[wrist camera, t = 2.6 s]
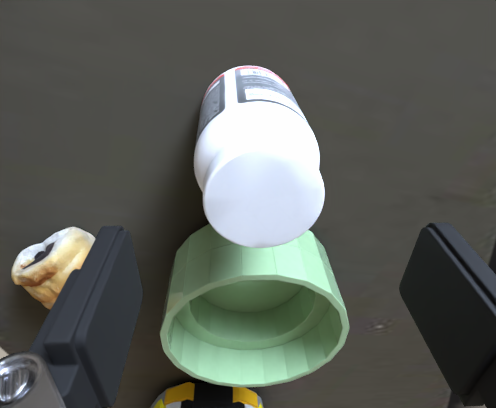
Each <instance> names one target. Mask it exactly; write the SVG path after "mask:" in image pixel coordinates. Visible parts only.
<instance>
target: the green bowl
mask: <svg viewBox="0 0 496 408" xmlns="http://www.w3.org/2000/svg"><path fill="white" fill-rule="evenodd" d="M348 331H349V322H348V317H347V313H346V309H345V306H344V303H343V300H342V297H341V294H340V291H339V289H338V286H337V283H336V280H335V277H334V274H333V271H332V269H331V266H330V263H329V260H328V257H327V254H326V251H325V249H324V247H323V246H322V245H321V243H320V242H319V241H318V239H317V238H316V237H315V236H314V234H313V233H312V232H310V231H309V230H307V231H306V232H305V233H303V234H302V235H301V236H299V237H298V238H296V239H294V240H292V241H290V242H288V243H285V244H282V245H279V246H274V247H268V248H251V247H245V246H242V245H238V244H235V243H233V242H231V241H229V240H227V239H225V238H224V237H222V236H221V235H220V234H219V233H217V232H216V231H215V229H214V228H213V227H212V226H211V224H210V223H209V224H208V225H206V226H204V227H203V228H201V229H199V230H198V231H196V232H194V233H193V234H191V235H190V236H189V237H188V239H187V240H186V241H185V242H184V243H183V245H182V246H181V247H180V248H179V249H178V250H177V252H176V255H175V258H174V262H173V265H172V268H171V273H170V279H169V284H168V290H167V295H166V301H165V307H164V312H163V318H162V323H161V329H160V338H161V342H162V347H163V351H164V353H165V354H166V355H167V356H168V358H169V359H170V360H171V361H172V363H173V364H174V365H175V366H176V367H177V368H179V369H181V370H182V371H184V372H186V373H187V374H189V375H190V376H192V377H194V378H197V379H200V380H203V381H206V382H209V383H212V384H216V385H224V386H232V387H263V386H270V385H275V384H279V383H284V382H289V381H292V380H295V379H297V378H300V377H302V376H305V375H307V374H310V373H312V372H314V371H315V370H317V369H318V368H320V367H321V366H323V365H324V364H326V363H327V362H329V361H330V360H331V359H332V358H333V357H334V356H335V355H336V354H337V352H338V351H339V350H340V349H341V348H342V347H343V345H344V343H345V340H346V337H347V334H348Z"/></svg>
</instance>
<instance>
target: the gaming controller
mask: <svg viewBox="0 0 496 408" xmlns="http://www.w3.org/2000/svg"><path fill="white" fill-rule="evenodd" d="M150 408H264V407H263V403H262V400H261V398H260V397H259V396H258V395H257V393H256V392H254V391H252V390H250V389H247V388H245V387H232V386H224V385H216V384H203V383H194V384H193V383H191V382H188V383H184V384H180V385H177V386H173V387H170V388H167V389H166V390H165V391H164V392H163V393H161V394H160V395H159V396H158V397H157V399H156V400H155V401H154V403H153V404H152V405H151V407H150Z"/></svg>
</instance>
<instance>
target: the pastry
mask: <svg viewBox="0 0 496 408" xmlns="http://www.w3.org/2000/svg"><path fill="white" fill-rule="evenodd" d="M94 241H95V237H94V236H92V235H91V234H90V233H88V232H85V231H84V230H82V229H79V228H76V227H70V228H67V229H64V230H61V231H59V232H56V233H54V234H53V235H52V236H51V237H49V238H47V239H46V240H45V241H44V242H43V243H40V244H35V245H32V246H30V247H28V248H26V249H24V250H23V251H21V253H20V254H19V255H18V256H17V258H16V260H15V262H14V265H13V267H12V275H11V277H12V280H13V281H14V283H15V284H16V285H22V286H23V287H24V288H25V289H26V290H27V291H28V292H29V293H30V294H31V296H33V297H34V298H35V299H36V300H38V301H40V302H41V303H42V304H43V305H44V306H45V307H46V308H48V309H50V310H51V308H52V306H53V304H54V303H55V301H56V299H57V297H58V295H59V293H60V291H61V289H62V288H63V286H64V284H65V282H66V280H67V278H68V276H69V275H70V273H71V272H72V271H73V270H74V269H80V268H81V266H82V264H83V262H84V260H85V258H86V256H87V255H88V253H89V251H90V249H91V247H92V245H93V243H94Z"/></svg>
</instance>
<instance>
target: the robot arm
mask: <svg viewBox="0 0 496 408" xmlns="http://www.w3.org/2000/svg"><path fill="white" fill-rule="evenodd" d="M399 290H400V294H401V297H402V299H403V301H404V302H405V304H406V306H407V308H408V310H409V312H410V314H411V316H412V317H413V319H414V321H415V323H416V325H417V327H418V329H419V331H420V332H421V334H422V336H423V338H424V340H425V342H426V344H427V346H428V347H429V349H430V351H431V353H432V355H433V357H434V359H435V361H436V363H437V364H438V366H439V368H440V370H441V372H442V374H443V376H444V378H445V379H446V381H447V383H448V385H449V387H450V389H451V390H452V391H453V392H454V393H455V394H456V395H458V396H459V397H460V399H461V401H462V402H463V405H464V406H482V405H484V404H485V406H486V407H487V408H496V275H495V274H494V272H493V271H492V270H491V269H490V268H489V267H488V266H487V264H486V263H485V262H484V261H483V260H482V259H481V258H480V257H479V255H478V254H477V253H476V252H475V251H474V250H473V249H472V248H471V246H470V245H469V244H468V243H467V242H466V241H465V240H464V238H463V237H462V236H461V235H460V234H459V233H458V232H457V231H456V229H455V228H454V227H453V226H452V225H451V224H449V223H429V224H428V225H427V226H426V228H423V229H422V230H421V232H420V234H419V237H418V239H417V242H416V244H415V247H414V250H413V252H412V255H411V257H410V260H409V262H408V265H407V268H406V270H405V273H404V275H403V278H402V280H401V283H400V287H399ZM142 298H143V290H142V285H141V280H140V276H139V271H138V267H137V262H136V258H135V253H134V248H133V244H132V239H131V235H130V232H129V231H124V228H123V227H122V226H103V227H102V228H101V229H100V231H99V233H98V235H97V237H96V239H95V241H94V243H93V245H92V247H91V249H90V251H89V253H88V255H87V256H86V258H85V260H84V262H83V264H82V266H81V268H80V269H74V270H73V271H72V272H71V273H70V275H69V276H68V278H67V280H66V282H65V284H64V286H63V288H62V289H61V291H60V293H59V295H58V297H57V299H56V301H55V303H54V304H53V306H52V308H51V310H50V312H49V314H48V316H47V318H46V319H45V321H44V323H43V325H42V327H41V329H40V331H39V332H38V334H37V336H36V338H35V340H34V342H33V344H32V346H31V347H30V349H29V351H22V352H17V353H13V354H10V355H8V356H6V357H3V358H1V359H0V408H107V407H112V406H113V405H114V402H115V399H116V396H117V392H118V388H119V385H120V381H121V377H122V373H123V370H124V366H125V362H126V359H127V355H128V351H129V347H130V344H131V340H132V336H133V333H134V329H135V325H136V321H137V318H138V314H139V310H140V307H141V303H142Z"/></svg>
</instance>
